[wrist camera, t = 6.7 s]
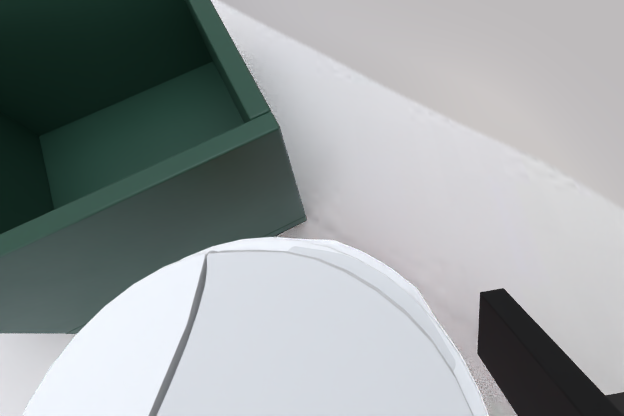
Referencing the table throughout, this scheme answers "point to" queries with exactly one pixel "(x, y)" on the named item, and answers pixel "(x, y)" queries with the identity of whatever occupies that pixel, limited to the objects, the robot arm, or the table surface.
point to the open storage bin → (125, 152)
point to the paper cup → (263, 341)
